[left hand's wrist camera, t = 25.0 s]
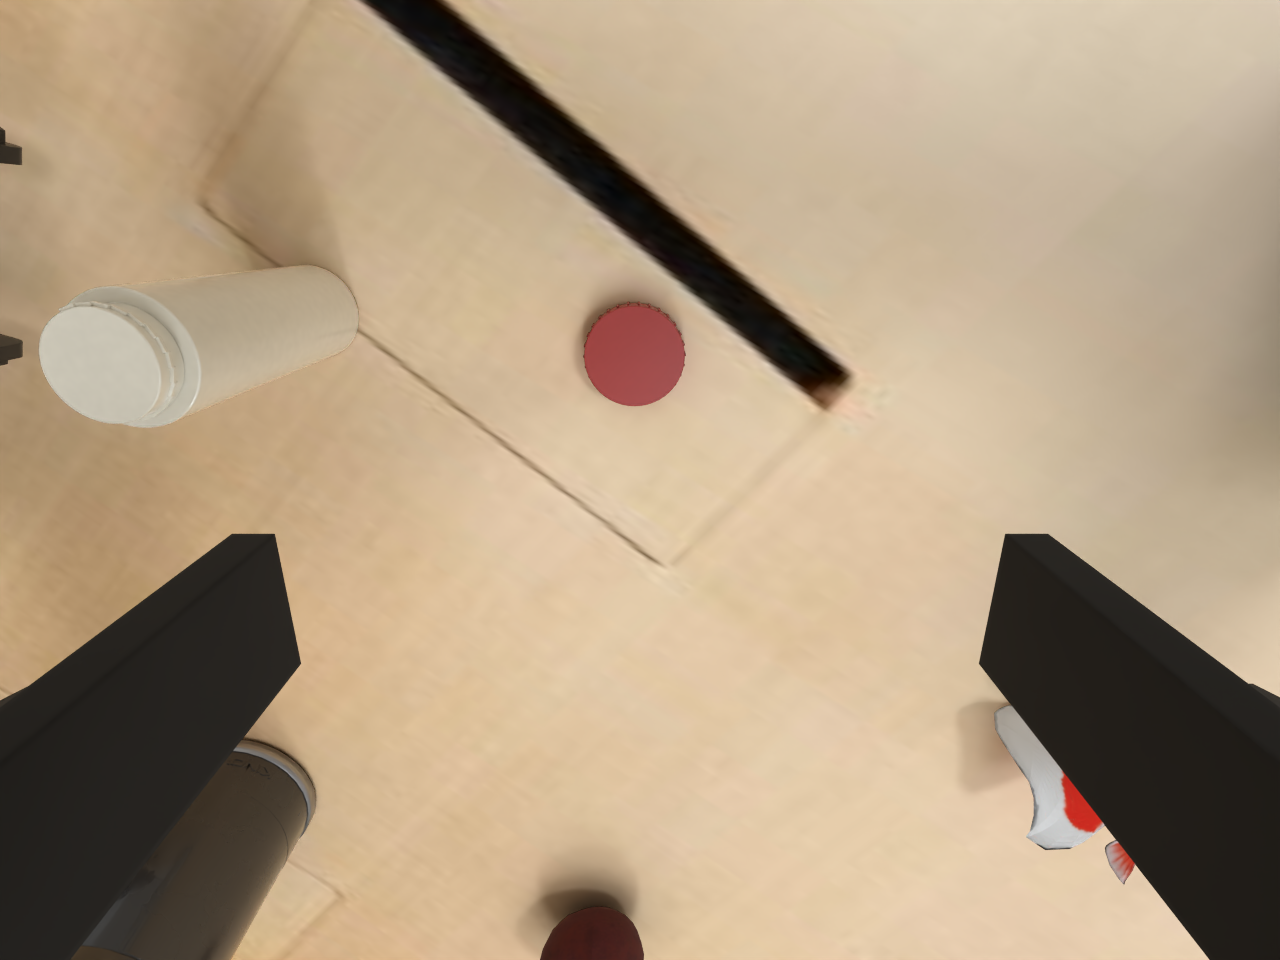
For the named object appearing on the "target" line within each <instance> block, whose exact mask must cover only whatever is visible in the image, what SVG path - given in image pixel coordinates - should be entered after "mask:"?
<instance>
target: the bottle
mask: <svg viewBox="0 0 1280 960" xmlns="http://www.w3.org/2000/svg"><path fill="white" fill-rule="evenodd" d="M59 311H60V312H59V313H58V314H56V315H55V316H54V317H53V318H52V319H51V320H50V321H49V322H48V323H47V324H46V326H45V327H44V329H43V332H42V334H41V337H40V341H39V358H40V364H41V367H42V370H43V373H44V375H45V377H46V379H47V381H48V383H49V384H50V386H51V387H52V389H53V390H54V392H55V393H56V394H57V395H58V396H59V397H60V398H61V400H63V401H64V402H65V403H66V404H67V405H68V406H69V407H71V408H72V409H73V410H75V411H77V412H78V413H80V414H82V415H84V416H86V417H88V418H90V419H93V420H96V421H99V422H104V423H111V424H125V425H129V426H133V427H141V428H153V427H160V426H164V425H168V424H170V423H173V422H175V421H178V420H180V419H182V418H185V417H187V416H190V415H192V414H194V413H197V412H199V411H202V410H204V409H206V408H209V407H211V406H214V405H216V404H219V403H221V402H223V401H226V400H228V399H231V398H233V397H235V396H238V395H240V394H243V393H245V392H247V391H250V390H252V389H255V388H257V387H260V386H262V385H264V384H267V383H269V382H272V381H274V380H276V379H279V378H281V377H284V376H286V375H288V374H291V373H293V372H296V371H298V370H300V369H303V368H305V367H308V366H310V365H313V364H315V363H317V362H320V361H322V360H325V359H327V358H329V357H332V356H334V355H336V354H339V353H340V352H342V351H344V350H345V349H346V348H347V347H348V346H349V345H350V344H351V343H352V341H353V339H354V338H355V335H356V333H357V329H358V323H359V314H358V308H357V305H356V302H355V299H354V297H353V295H352V293H351V291H350V290H349V289H348V287H347V286H346V285H345V284H344V282H343V281H342V280H341V279H339V278H338V277H337V276H336V275H334V274H333V273H331V272H329V271H328V270H326V269H323V268H321V267H317V266H312V265H297V266H288V267H278V268H269V269H260V270H250V271H241V272H232V273H223V274H213V275H204V276H195V277H185V278H176V279H167V280H157V281H148V282H139V283H129V284H120V285H111V286H103V287H96V288H93V289H89V290H87V291H85V292H83V293H81V294H79V295H78V296H76V297H75V298H73V299H72V300H71V301H70V302H69V303H68V304H67V305H66V306H64V307H62V308H60V309H59Z"/></svg>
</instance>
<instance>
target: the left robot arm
mask: <svg viewBox="0 0 1280 960" xmlns="http://www.w3.org/2000/svg"><path fill="white" fill-rule="evenodd" d="M300 664H301V661H300V656H299V651H298V646H297V641H296V636H295V632H294V627H293V622H292V617H291V612H290V607H289V602H288V597H287V592H286V587H285V582H284V577H283V572H282V567H281V562H280V558H279V553H278V548H277V543H276V538H275V534H231V535H230V536H229V537H227V538H226V539H225V540H223V541H222V542H221V543H219V544H218V545H217V546H215V547H214V548H213V549H211V550H210V551H209V552H207V553H206V554H205V555H203V556H202V557H201V558H199V559H198V560H197V561H195V562H194V563H193V564H191V565H190V566H189V567H187V568H186V569H185V570H183V571H182V572H181V573H179V574H178V575H177V576H175V577H174V578H172V579H171V580H170V581H168V582H167V583H166V584H164V585H163V586H162V587H160V588H159V589H158V590H156V591H155V592H154V593H152V594H151V595H150V596H148V597H147V598H146V599H144V600H143V601H142V602H140V603H139V604H138V605H136V606H135V607H134V608H132V609H131V610H130V611H128V612H127V613H126V614H124V615H123V616H122V617H120V618H119V619H118V620H116V621H115V622H114V623H112V624H111V625H110V626H108V627H107V628H106V629H104V630H103V631H102V632H100V633H99V634H98V635H96V636H95V637H94V638H92V639H91V640H90V641H88V642H87V643H86V644H84V645H83V646H82V647H80V648H79V649H78V650H76V651H75V652H74V653H72V654H71V655H70V656H68V657H67V658H66V659H64V660H63V661H62V662H60V663H59V664H58V665H56V666H55V667H54V668H52V669H51V670H50V671H48V672H47V673H46V674H44V675H43V676H42V677H40V678H39V679H38V680H36V681H35V682H34V683H32V684H31V685H30V686H28V687H26V688H24V689H22V690H20V691H18V692H16V693H14V694H12V695H10V696H8V697H6V698H4V699H2V700H0V960H71V958H72V957H73V956H74V954H75V953H76V952H77V951H78V949H79V948H80V947H81V945H82V944H83V943H84V942H85V940H86V939H87V938H88V936H89V935H90V934H91V933H92V931H93V930H94V929H95V927H96V926H97V925H98V924H99V922H100V921H101V920H102V918H103V917H104V916H105V915H106V913H107V912H108V911H109V909H110V908H111V907H112V906H113V904H114V903H115V902H116V900H117V899H118V898H119V897H120V895H121V894H122V893H123V891H124V890H125V889H126V888H127V886H128V885H129V884H130V883H131V881H132V880H133V879H134V877H135V876H136V875H137V874H138V872H139V871H140V870H141V868H142V867H143V866H144V865H145V863H146V862H147V861H148V859H149V858H150V857H151V856H152V854H153V853H154V852H155V850H156V849H157V848H158V847H159V845H160V844H161V843H162V841H163V840H164V839H165V838H166V836H167V835H168V834H169V832H170V831H171V830H172V829H173V827H174V826H175V825H176V823H177V822H178V821H179V820H180V818H181V817H182V816H183V814H184V813H185V812H186V811H187V809H188V808H189V807H190V806H191V804H192V803H193V802H194V800H195V799H196V798H197V797H198V795H199V794H200V793H201V791H202V790H203V789H204V788H205V786H206V785H207V784H208V782H209V781H210V780H211V779H212V777H213V776H214V775H215V773H216V772H217V771H218V770H219V768H220V767H221V766H222V764H223V763H224V762H225V761H226V759H227V758H228V757H229V755H230V754H231V753H232V752H233V750H234V749H235V748H236V746H237V745H238V744H239V743H240V741H241V740H242V739H243V737H244V736H245V735H246V734H247V732H248V731H249V730H250V729H251V727H252V726H253V725H254V723H255V722H256V721H257V720H258V718H259V717H260V716H261V714H262V713H263V712H264V711H265V709H266V708H267V707H268V705H269V704H270V703H271V702H272V700H273V699H274V698H275V696H276V695H277V694H278V693H279V691H280V690H281V689H282V687H283V686H284V685H285V684H286V682H287V681H288V680H289V678H290V677H291V676H292V675H293V673H294V672H295V671H296V669H297V668H298V667H299V666H300ZM979 664H980V666H981V667H982V668H983V669H984V671H985V672H986V673H987V675H988V676H989V677H990V678H991V680H992V681H993V682H994V684H995V685H996V686H997V687H998V689H999V690H1000V691H1001V693H1002V694H1003V695H1004V696H1005V698H1006V699H1007V700H1008V702H1009V703H1010V704H1011V705H1012V707H1013V708H1014V709H1015V711H1016V712H1017V713H1018V714H1019V716H1020V717H1021V718H1022V720H1023V721H1024V722H1025V723H1026V725H1027V726H1028V727H1029V729H1030V730H1031V731H1032V732H1033V734H1034V735H1035V736H1036V737H1037V739H1038V740H1039V741H1040V743H1041V744H1042V745H1043V746H1044V748H1045V749H1046V750H1047V752H1048V753H1049V754H1050V755H1051V757H1052V758H1053V759H1054V761H1055V762H1056V763H1057V764H1058V766H1059V767H1060V768H1061V770H1062V771H1063V772H1064V773H1065V775H1066V776H1067V777H1068V779H1069V780H1070V781H1071V782H1072V784H1073V785H1074V786H1075V788H1076V789H1077V790H1078V791H1079V793H1080V794H1081V795H1082V797H1083V798H1084V799H1085V800H1086V802H1087V803H1088V804H1089V806H1090V807H1091V808H1092V809H1093V811H1094V812H1095V813H1096V815H1097V816H1098V817H1099V818H1100V820H1101V821H1102V822H1103V823H1104V825H1105V826H1106V827H1107V829H1108V830H1109V831H1110V832H1111V834H1112V835H1113V836H1114V838H1115V839H1116V840H1117V841H1118V843H1119V844H1120V845H1121V847H1122V848H1123V849H1124V850H1125V852H1126V853H1127V854H1128V856H1129V857H1130V858H1131V859H1132V861H1133V862H1134V863H1135V865H1136V866H1137V867H1138V868H1139V870H1140V871H1141V872H1142V874H1143V875H1144V876H1145V877H1146V879H1147V880H1148V881H1149V883H1150V884H1151V885H1152V886H1153V888H1154V889H1155V890H1156V892H1157V893H1158V894H1159V895H1160V897H1161V898H1162V899H1163V900H1164V902H1165V903H1166V904H1167V906H1168V907H1169V908H1170V909H1171V911H1172V912H1173V913H1174V915H1175V916H1176V917H1177V918H1178V920H1179V921H1180V922H1181V924H1182V925H1183V926H1184V927H1185V929H1186V930H1187V931H1188V933H1189V934H1190V935H1191V936H1192V938H1193V939H1194V940H1195V942H1196V943H1197V944H1198V945H1199V947H1200V948H1201V949H1202V951H1203V952H1204V953H1205V954H1206V956H1207V957H1208V958H1209V960H1280V697H1278V696H1276V695H1274V694H1272V693H1270V692H1268V691H1266V690H1264V689H1262V688H1260V687H1258V686H1256V685H1254V684H1248V683H1246V682H1245V681H1244V680H1242V679H1241V678H1240V677H1238V676H1237V675H1236V674H1234V673H1233V672H1232V671H1230V670H1229V669H1228V668H1226V667H1225V666H1224V665H1222V664H1221V663H1220V662H1218V661H1217V660H1216V659H1214V658H1213V657H1212V656H1210V655H1209V654H1208V653H1206V652H1205V651H1204V650H1202V649H1201V648H1200V647H1198V646H1197V645H1196V644H1194V643H1193V642H1192V641H1190V640H1189V639H1188V638H1186V637H1185V636H1184V635H1182V634H1181V633H1180V632H1178V631H1177V630H1176V629H1174V628H1173V627H1172V626H1170V625H1169V624H1168V623H1166V622H1165V621H1164V620H1162V619H1161V618H1160V617H1158V616H1157V615H1156V614H1154V613H1153V612H1152V611H1150V610H1149V609H1148V608H1146V607H1145V606H1144V605H1142V604H1141V603H1140V602H1138V601H1137V600H1136V599H1134V598H1133V597H1132V596H1130V595H1129V594H1128V593H1126V592H1125V591H1124V590H1122V589H1121V588H1120V587H1118V586H1117V585H1116V584H1114V583H1113V582H1112V581H1110V580H1109V579H1107V578H1106V577H1105V576H1103V575H1102V574H1101V573H1099V572H1098V571H1097V570H1095V569H1094V568H1093V567H1091V566H1090V565H1089V564H1087V563H1086V562H1085V561H1083V560H1082V559H1081V558H1079V557H1078V556H1077V555H1075V554H1074V553H1073V552H1071V551H1070V550H1069V549H1067V548H1066V547H1065V546H1063V545H1062V544H1061V543H1059V542H1058V541H1057V540H1055V539H1054V538H1053V537H1051V536H1050V535H1049V534H1005V538H1004V543H1003V548H1002V553H1001V558H1000V562H999V567H998V572H997V577H996V582H995V587H994V592H993V597H992V602H991V607H990V612H989V617H988V622H987V627H986V632H985V636H984V641H983V646H982V651H981V656H980V661H979Z"/></svg>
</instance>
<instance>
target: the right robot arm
mask: <svg viewBox="0 0 1280 960" xmlns="http://www.w3.org/2000/svg"><path fill="white" fill-rule="evenodd" d="M0 163H6V164H16V165H22V147H20V146H17V145H14V144H10V143H7V142H5V130H3V129H2V128H1V127H0ZM22 356H23V349H22V341H21V340H19V339H16V338H13V337H9V336H5V335H2V334H0V365H5V364H8V360H11V359H16V358H20V357H22ZM315 807H316V797H315V792H314V788H313V786H312V783H311V781H310V779H309V778H308V776H307V775H306V773H305V772H304V771H303V770H302V768H301V767H300V766H299V765H298V764H297V763H296V762H294V761H293V760H292V759H291V758H289V757H288V756H287V755H285V754H283V753H282V752H280V751H278V750H276V749H274V748H272V747H270V746H267V745H264V744H261V743H257V742H253V741H248V740H241V741H240V743H239V744H238V745H237V746H236V748H235V749H234V750H233V752H232V753H231V754H230V755H229V757H228V758H227V759H226V761H225V762H224V763H223V764H222V766H221V767H220V768H219V770H218V771H217V772H216V773H215V775H214V776H213V777H212V779H211V780H210V781H209V782H208V784H207V785H206V786H205V788H204V789H203V790H202V791H201V793H200V794H199V795H198V797H197V798H196V799H195V800H194V802H193V803H192V804H191V806H190V807H189V808H188V809H187V811H186V812H185V813H184V814H183V816H182V817H181V818H180V820H179V821H178V822H177V823H176V825H175V826H174V827H173V829H172V830H171V831H170V832H169V834H168V835H167V836H166V838H165V839H164V840H163V841H162V843H161V844H160V845H159V847H158V848H157V849H156V850H155V852H154V853H153V854H152V856H151V857H150V858H149V859H148V861H147V862H146V863H145V865H144V866H143V867H142V868H141V870H140V871H139V872H138V874H137V875H136V876H135V877H134V879H133V880H132V881H131V883H130V884H129V885H128V886H127V888H126V889H125V890H124V891H123V893H122V894H121V895H120V897H119V898H118V899H117V900H116V902H115V903H114V904H113V906H112V907H111V908H110V909H109V911H108V912H107V913H106V915H105V916H104V917H103V918H102V920H101V921H100V922H99V924H98V925H97V926H96V927H95V929H94V930H93V931H92V933H91V934H90V935H89V936H88V938H87V939H86V940H85V942H84V943H83V944H82V945H81V947H80V948H79V949H78V951H77V952H76V953H75V954H74V956H73V957H72V958H71V960H231V959H232V957H233V955H234V954H235V952H236V950H237V948H238V946H239V945H240V943H241V941H242V939H243V938H244V936H245V934H246V932H247V930H248V929H249V927H250V925H251V923H252V921H253V920H254V918H255V916H256V914H257V913H258V911H259V909H260V907H261V905H262V904H263V902H264V900H265V898H266V896H267V895H268V893H269V891H270V889H271V887H272V886H273V884H274V882H275V880H276V879H277V877H278V875H279V873H280V871H281V870H282V868H283V866H284V865H285V863H286V861H287V859H288V858H289V856H290V854H291V852H292V850H293V849H294V847H295V845H296V843H297V841H298V839H299V838H300V837H301V836H302V835H303V833H304V832H305V830H306V828H307V826H308V825H309V823H310V821H311V819H312V817H313V815H314V812H315Z"/></svg>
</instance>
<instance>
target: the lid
mask: <svg viewBox="0 0 1280 960" xmlns="http://www.w3.org/2000/svg"><path fill="white" fill-rule="evenodd" d="M681 335H682V334H681V332H680V331H678V329H677V327H676V323H675V322H673V321H672V320H671V319H670V318H669V315H668V314H665V313H663V312H662V311H661V310H660V308H658V309H657V308H655V307H653V306H651V305H650V304H648V305H647V304H641V303H640V302H638V303H629V302H627V304H623V305H619V304H617V307H614V308H612V309H611V310H610V309H608V310H607V312H606V313H605V314H603V315H602V316H601V315H600V316H599V318H598V321H597V322H596V323H593V325H592V330H591V332H588V334H587V337H588V338H587V342H586V343H585V345H584V347H585V353H584V356H583V357H584V359H585V368H586V370H587V373H588V377H589V378H590V380H591V382H592V383H593V385H594V386H595V387H596V389H597V390H598V391H599V392H600V393H601V394H603V395H604V396H605V397H607V398H608V399H610V400H612V401H614V402H616V403H619V404H622V405H627V406H642V405H647V404H650V403H653V402H655V401H657V400H659V399H661V398H662V397H664V396H665V395H667V394H668V393H669V392H670V391H671V390H672V389H673V387H674V386H675V385H676V383H677V382H678V380H679V378H680V377H681V373H682V370H683V366H684V365H685V364H684V358H685V356H686V354H685V351H684V345H685V344H684V341H682V339H681Z"/></svg>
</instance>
